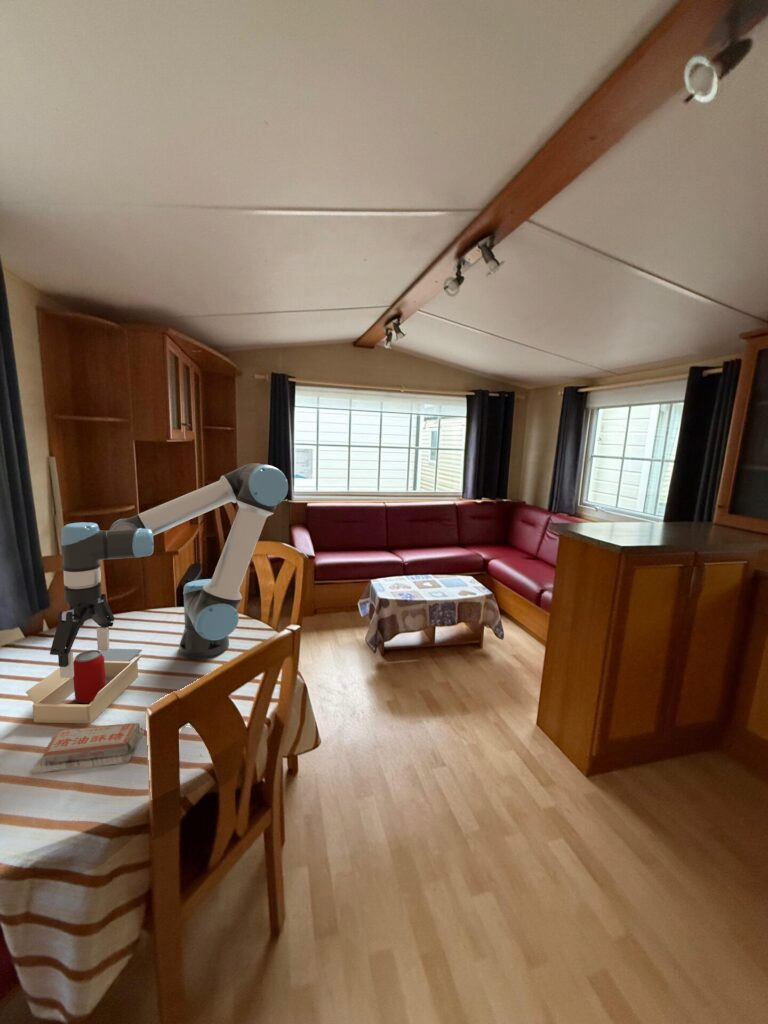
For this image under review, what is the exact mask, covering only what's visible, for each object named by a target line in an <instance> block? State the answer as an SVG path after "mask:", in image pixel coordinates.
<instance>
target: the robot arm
mask: <svg viewBox="0 0 768 1024" xmlns="http://www.w3.org/2000/svg"><path fill="white" fill-rule="evenodd" d="M288 491H289V483H288V479H287V477H286V475H285V474H284V472H283V471H282V470H280V469H279V468H277V467H275V466H273V465H269V464H261V463H257V462H253V463H248V464H244V465H242V466H241V467H238V468H236V469H234V470H232V471H229V472H228V473H225V474H223V475H221V476H220V479H218V481H215V482H213V483H210V484H208V485H204V486H203V487H200V488H198V489H195V490H193V491H191V492H188V493H186V494H184V495H182V496H178V497H177V498H174V499H171V500H169V501H167V502H164V503H162V504H159V505H156V506H155V507H151V508H150V509H147V510H145V511H143V512H140V513H138V514H136V515H134V516H131V517H129V518H120V519H118V520H116V521H114V522H113V523H112V524H111V526H110V528H109V530H107V529H106V530H102V529H101V530H100V527H99V525H98V523H96V522H86V521H85V522H81V521H79V522H73V523H67V524H66V525H64V526H63V527H62V528H61V544H60V546H61V558H62V569H63V584H64V588H63V591H64V593H63V595H64V601H65V602H66V603H67V604H68V605H69V607H68V610H66V611H63V610H62V611H59V612H58V620H57V621H58V622H57V626H56V630H55V632H54V636H53V640H52V645H51V648H50V650H49V655H50V656H58V659H57V660H58V666H59V667H58V668H60V678H73V677H74V664H73V658H74V652H73V651H72V647H73V645H74V642H75V640H76V638H77V636H78V633H79V630H80V628H81V627H82V626H84V624H85V622H86V621H88V620H89V619H91V620H93V621H94V622H95V623H96V624H97V626H98V627H96V639H97V640H96V642H97V643H96V644H97V650H98V651H108V650H109V649H110V627H113V626H114V621H115V616H114V613H113V612H112V610H111V607H110V604H109V603H108V601H107V595H106V594H105V593H102V583H100V582H101V580H102V574H101V563H100V562H101V561H104V560H118V559H119V560H120V559H131V558H138V559H139V558H142V557H149V556H151V555H153V553H154V548H155V546H154V536H156V535H158V534H160V533H163V532H165V531H167V530H170V529H171V528H174V527H176V526H178V525H181V524H183V523H186V522H187V521H189V520H191V519H194V518H196V517H197V518H198V517H199V516H201V515H203V514H205V513H208V512H210V511H213V510H215V509H218V508H220V507H221V506H224V505H226V504H229V503H233V504H237V506H238V510H237V512H236V515H235V517H234V521H233V523H232V526H231V528H230V530H229V533H228V536H227V539H226V541H225V544H224V546H223V549H222V552H221V553H220V557H219V560H218V562H217V563H216V566H215V570H214V573H213V575H212V577H211V578H206V579H196V580H193V581H190V582H187V583H185V584H184V586H183V592H182V594H183V611H184V612H183V613H184V629H183V632H182V635H181V638H180V642H179V645H178V646H179V654H180V655H181V656H182V657H185V658H187V659H193V660H201V659H208V658H212V657H216V656H217V655H220V654H222V653H223V652H225V651H226V650H227V649H228V648H229V645H230V638H229V636H230V635H231V634H232V633H233V632H235V630H236V629H237V626H238V624H239V621H240V620H239V619H240V618H239V612H238V609H239V606H240V603H241V601H242V598H243V596H242V594H241V592H240V588H241V586H242V584H243V582H244V581H243V580H244V579H245V576H246V573H247V570H248V567H249V565H250V564H251V560H252V557H253V555H254V552H255V549H256V546H257V544H258V541H259V539H260V536H261V533H262V531H263V528H264V526H265V523H266V520H267V518H268V517H270V516H272V515H274V513H275V511H276V508H277V506H278V505H279V504H281V502H283V501H284V500H285V499H286V497H287V495H288Z"/></svg>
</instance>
